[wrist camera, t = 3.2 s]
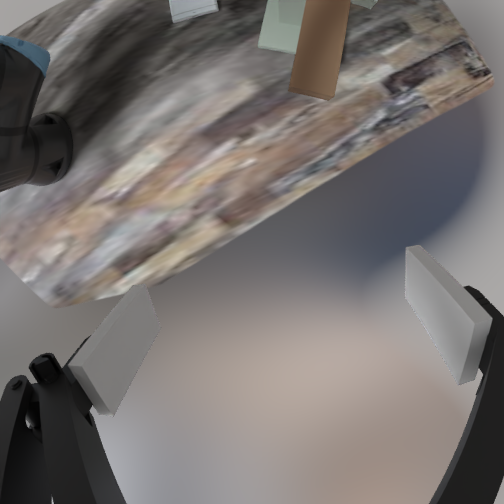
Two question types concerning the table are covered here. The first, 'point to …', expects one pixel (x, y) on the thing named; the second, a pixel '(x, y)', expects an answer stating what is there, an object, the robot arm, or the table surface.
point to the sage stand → (288, 24)
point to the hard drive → (191, 8)
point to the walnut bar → (320, 48)
